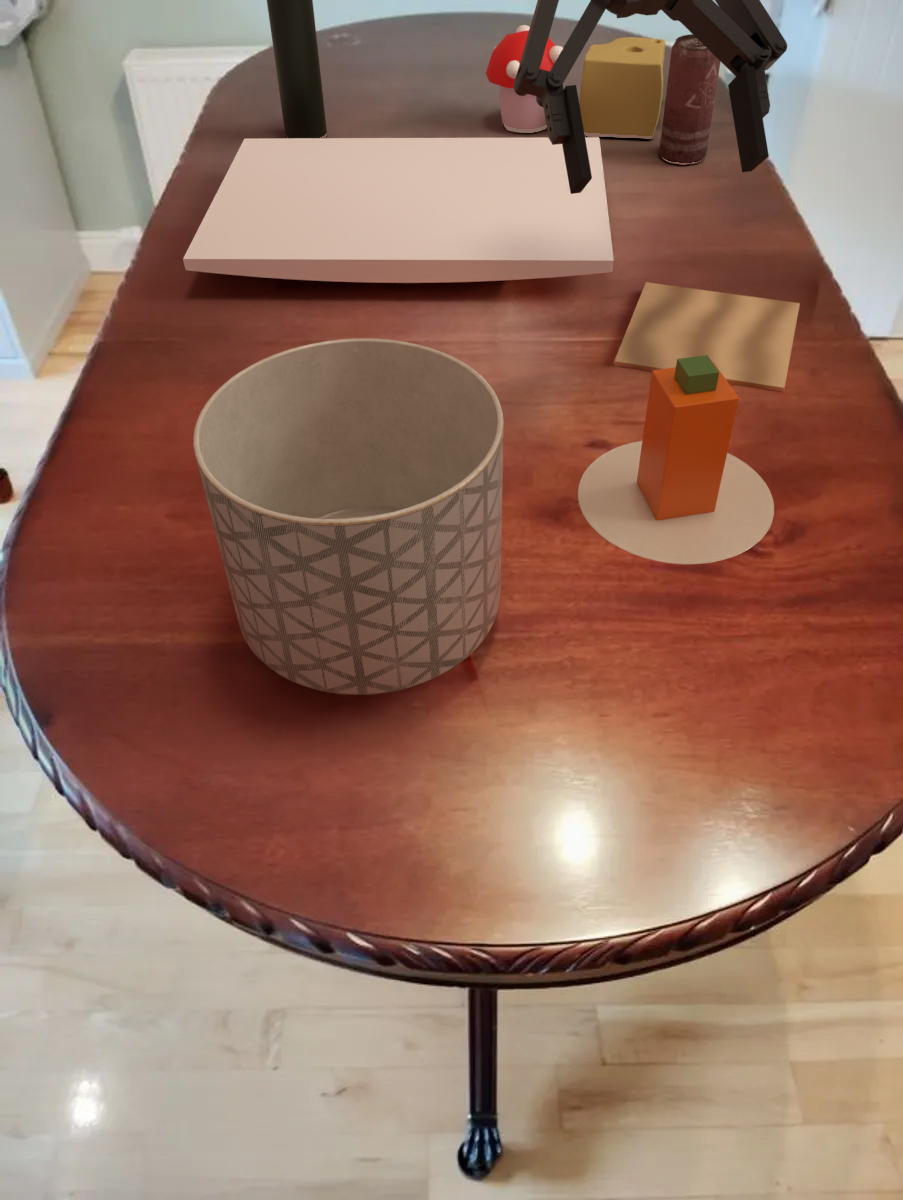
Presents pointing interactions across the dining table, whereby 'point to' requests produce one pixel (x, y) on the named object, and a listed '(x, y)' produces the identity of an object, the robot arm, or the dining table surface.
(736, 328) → the coaster
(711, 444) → the carrot block
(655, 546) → the plate
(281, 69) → the wine bottle
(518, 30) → the mushroom
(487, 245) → the board
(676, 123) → the can
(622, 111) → the cheese
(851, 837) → the dining table surface
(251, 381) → the planter
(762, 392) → the dining table surface
